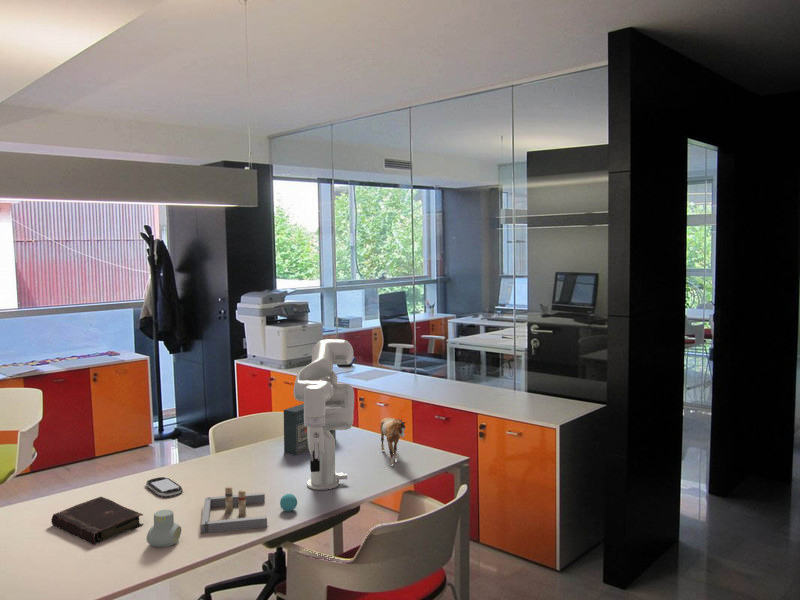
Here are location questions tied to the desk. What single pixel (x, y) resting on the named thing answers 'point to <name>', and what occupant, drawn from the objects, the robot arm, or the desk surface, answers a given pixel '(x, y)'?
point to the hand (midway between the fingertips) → (315, 471)
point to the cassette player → (296, 431)
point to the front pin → (242, 502)
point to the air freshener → (164, 530)
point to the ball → (288, 502)
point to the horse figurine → (392, 433)
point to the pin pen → (232, 523)
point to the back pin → (229, 499)
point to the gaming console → (164, 487)
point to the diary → (96, 520)
